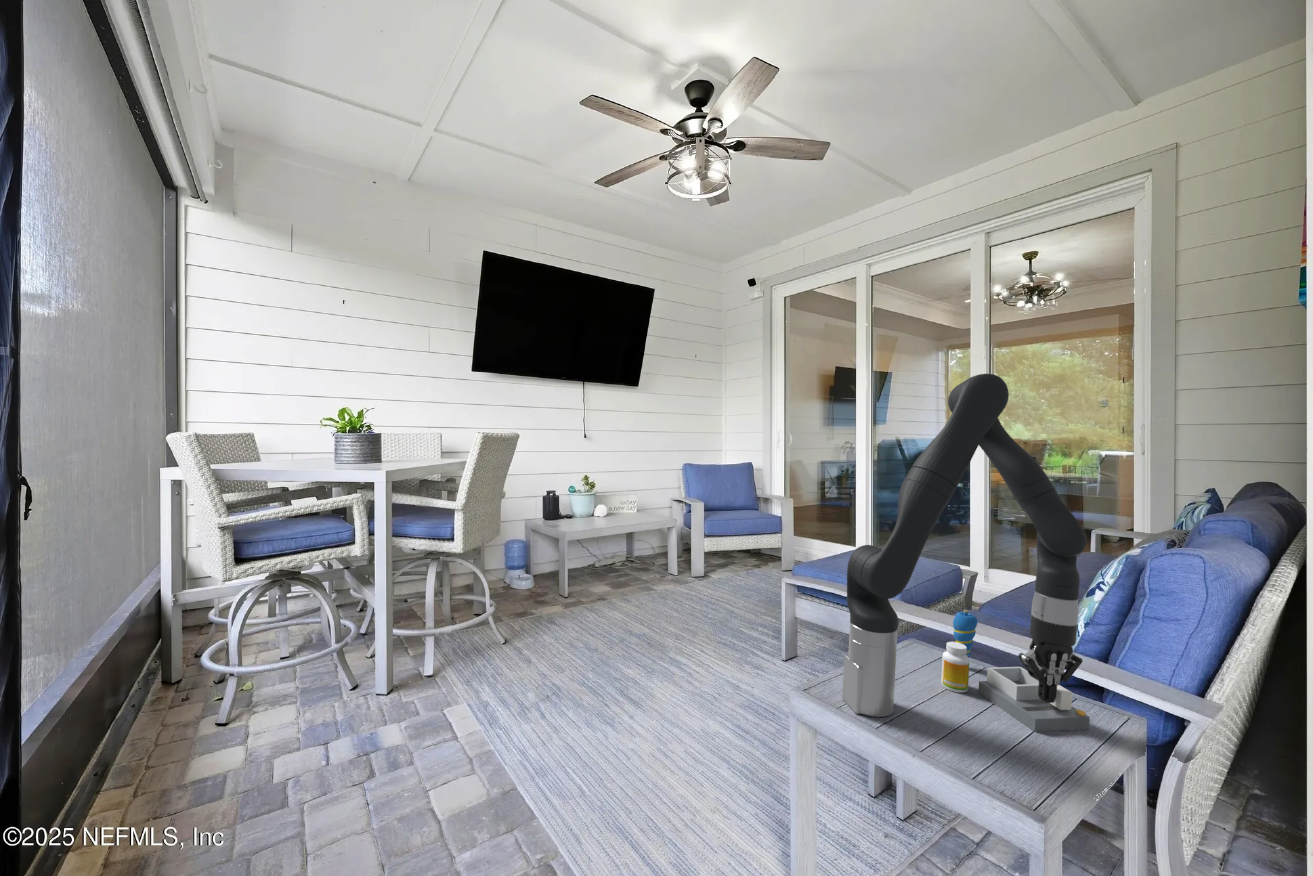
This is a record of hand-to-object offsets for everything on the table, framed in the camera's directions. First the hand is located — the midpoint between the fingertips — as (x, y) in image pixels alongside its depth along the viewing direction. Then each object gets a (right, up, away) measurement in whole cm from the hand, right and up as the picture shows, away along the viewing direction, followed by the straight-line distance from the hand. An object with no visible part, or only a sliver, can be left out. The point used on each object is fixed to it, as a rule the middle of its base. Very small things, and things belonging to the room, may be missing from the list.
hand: (1046, 700), depth 108 cm
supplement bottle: (-12, -4, +13) cm, 18 cm away
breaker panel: (0, -4, +4) cm, 6 cm away
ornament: (-4, -3, +23) cm, 24 cm away
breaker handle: (+3, -1, +1) cm, 3 cm away
